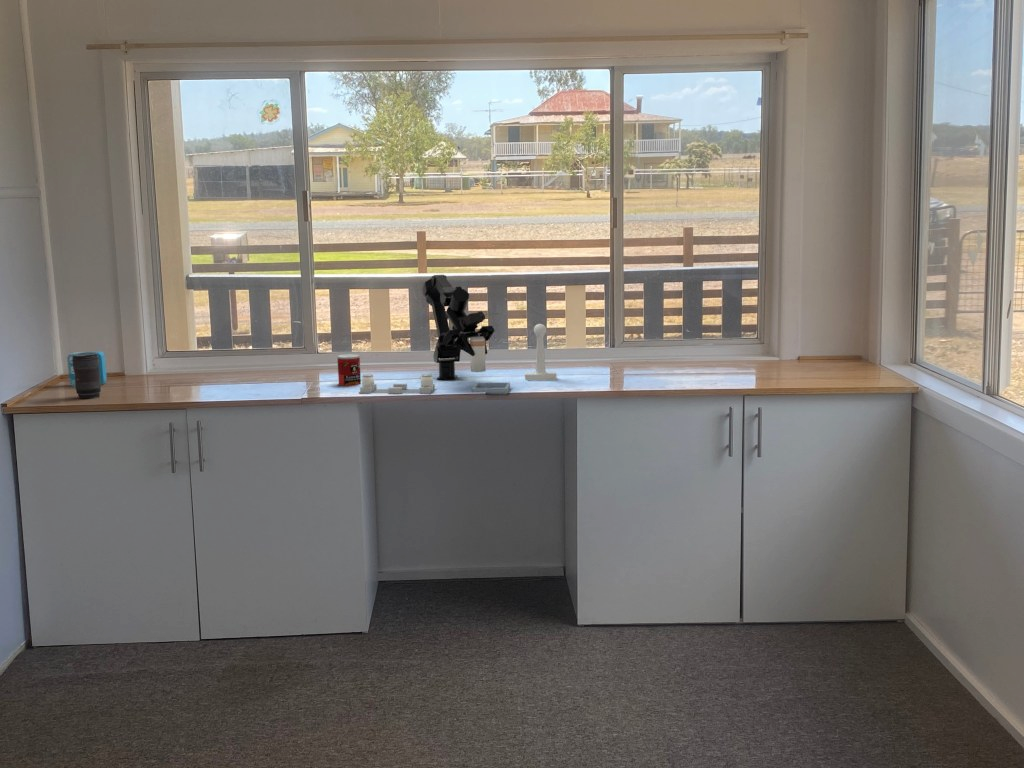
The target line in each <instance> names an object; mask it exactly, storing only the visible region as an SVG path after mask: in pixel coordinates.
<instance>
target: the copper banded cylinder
mask: <svg viewBox="0 0 1024 768" xmlns="http://www.w3.org/2000/svg"><path fill="white" fill-rule="evenodd" d="M469 343H470V345H471V347H472V349H473V351H474V353H475V355H474V356H472V355H470V354H469V355H470V356H469V357H470V372H472V373H484V372H487V369H486V367H487V366H486V354H485V338H484V337H483V336H473V337H471V338H469Z"/></svg>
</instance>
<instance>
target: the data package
mask: <svg viewBox="0 0 1024 768" xmlns="http://www.w3.org/2000/svg"><path fill="white" fill-rule="evenodd" d="M86 352H87V351H78V352H75V351H74V352H72V353H70V354H68V355H67V357H66V360H67V361H66V362H67V371H68V379H69V380H68V381H69V382H68V383H69V385H70V386H72V387H74V386H75V373H74V369H73V360H72V358H73V355H74V354H78V353H86ZM94 352H95V353H97V356H98V361H99V376H100V384H101V386H102V385H103V384H104V385H105V383H106V382H107V380H108V378H107V367H106V357H105V353H104V352H103V351H100V350H99V351H94Z"/></svg>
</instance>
